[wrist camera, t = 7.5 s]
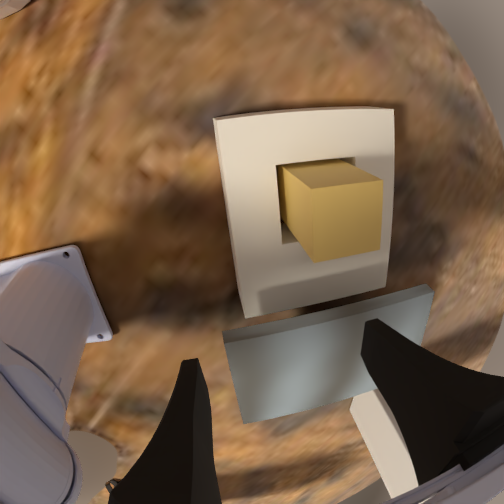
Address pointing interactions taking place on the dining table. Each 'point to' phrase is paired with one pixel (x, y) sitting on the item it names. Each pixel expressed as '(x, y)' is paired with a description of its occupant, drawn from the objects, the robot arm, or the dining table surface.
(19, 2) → the white cup
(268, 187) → the socket
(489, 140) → the dining table surface
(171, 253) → the dining table surface
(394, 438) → the milk carton
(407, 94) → the dining table surface
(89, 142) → the dining table surface
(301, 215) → the peg
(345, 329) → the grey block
